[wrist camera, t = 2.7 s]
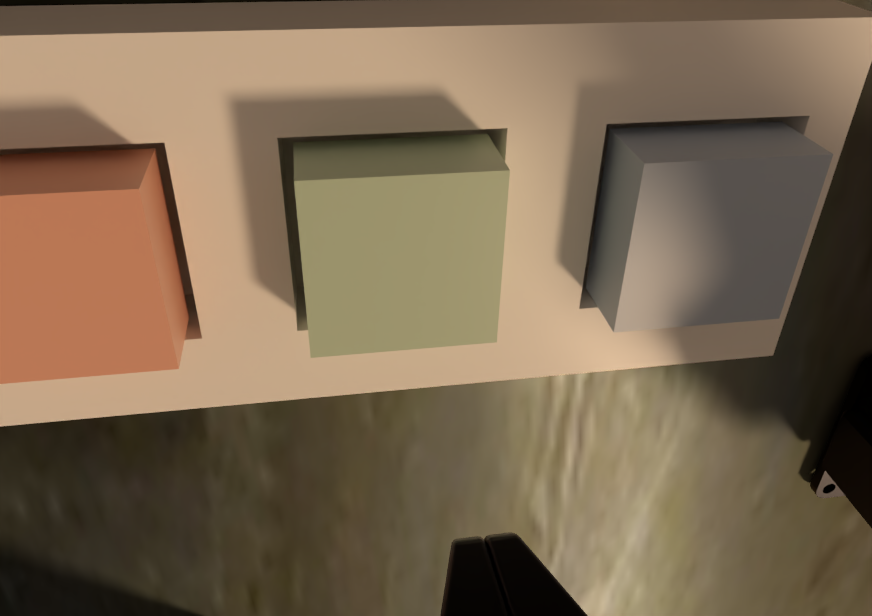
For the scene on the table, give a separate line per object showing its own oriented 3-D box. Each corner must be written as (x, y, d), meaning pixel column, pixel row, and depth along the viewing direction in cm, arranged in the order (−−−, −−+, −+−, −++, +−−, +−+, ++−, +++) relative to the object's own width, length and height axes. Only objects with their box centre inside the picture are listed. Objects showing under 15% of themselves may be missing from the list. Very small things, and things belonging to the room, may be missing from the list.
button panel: (818, -7, 18) (886, 16, 16) (729, 306, 23) (773, 355, 21) (-146, 8, 15) (-216, 40, 13) (-6, 365, 20) (-40, 429, 18)
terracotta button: (155, 148, 15) (139, 188, 14) (189, 316, 18) (178, 368, 16) (-66, 157, 15) (-111, 201, 13) (-2, 331, 17) (-32, 386, 15)
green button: (488, 134, 16) (510, 169, 15) (478, 295, 19) (496, 342, 17) (293, 142, 16) (293, 181, 14) (308, 308, 18) (310, 357, 16)
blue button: (781, 121, 17) (833, 154, 16) (738, 276, 20) (779, 318, 18) (609, 128, 17) (644, 163, 15) (585, 287, 19) (613, 332, 17)
